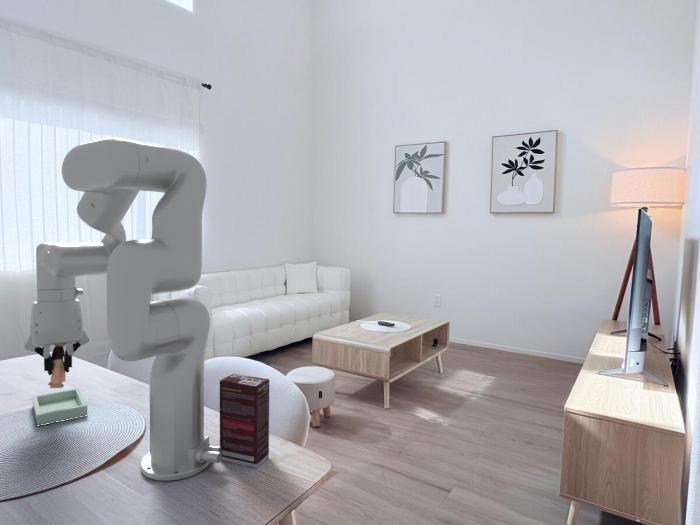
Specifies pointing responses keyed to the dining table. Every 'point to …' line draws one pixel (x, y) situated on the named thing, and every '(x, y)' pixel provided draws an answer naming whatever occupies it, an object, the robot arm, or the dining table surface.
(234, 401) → the supplement box
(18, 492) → the dining table surface
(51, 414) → the tray
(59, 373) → the grandmother figurine
